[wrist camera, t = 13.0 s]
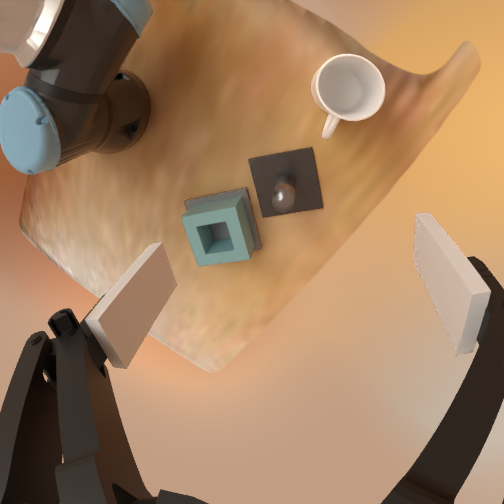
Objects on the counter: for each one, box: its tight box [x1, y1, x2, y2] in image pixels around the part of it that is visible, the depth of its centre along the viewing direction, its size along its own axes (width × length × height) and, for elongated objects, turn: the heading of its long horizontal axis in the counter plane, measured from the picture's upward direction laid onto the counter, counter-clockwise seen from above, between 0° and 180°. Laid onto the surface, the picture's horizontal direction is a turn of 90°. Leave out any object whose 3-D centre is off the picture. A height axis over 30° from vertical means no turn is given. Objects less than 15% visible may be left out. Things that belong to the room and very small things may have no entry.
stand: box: [248, 147, 323, 217], centre depth 45 cm, size 10×10×9 cm
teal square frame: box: [181, 196, 255, 266], centre depth 51 cm, size 9×9×5 cm
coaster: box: [184, 187, 262, 250], centre depth 53 cm, size 11×11×1 cm
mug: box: [311, 54, 385, 140], centre depth 36 cm, size 12×8×12 cm
